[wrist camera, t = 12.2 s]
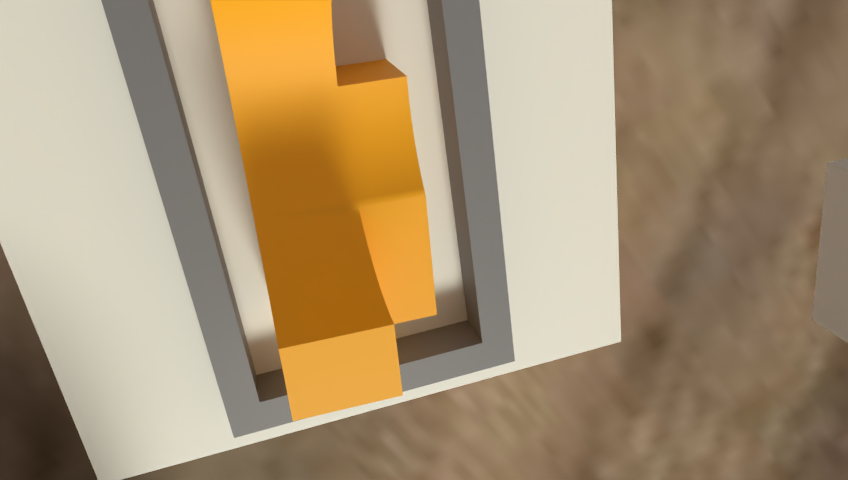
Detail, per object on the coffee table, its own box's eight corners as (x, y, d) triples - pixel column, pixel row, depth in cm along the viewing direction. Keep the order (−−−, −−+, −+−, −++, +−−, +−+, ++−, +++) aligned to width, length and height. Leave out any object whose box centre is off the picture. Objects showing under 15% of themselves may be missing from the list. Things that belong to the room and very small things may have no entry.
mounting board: (105, 455, 26) (94, 519, 23) (-175, -246, 17) (-244, -275, 14) (601, 321, 29) (642, 363, 26) (576, -325, 20) (632, -359, 18)
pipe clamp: (408, 265, 24) (474, 378, 18) (269, 294, 23) (292, 420, 17) (361, -166, 19) (431, -196, 13) (181, -150, 18) (173, -176, 12)
